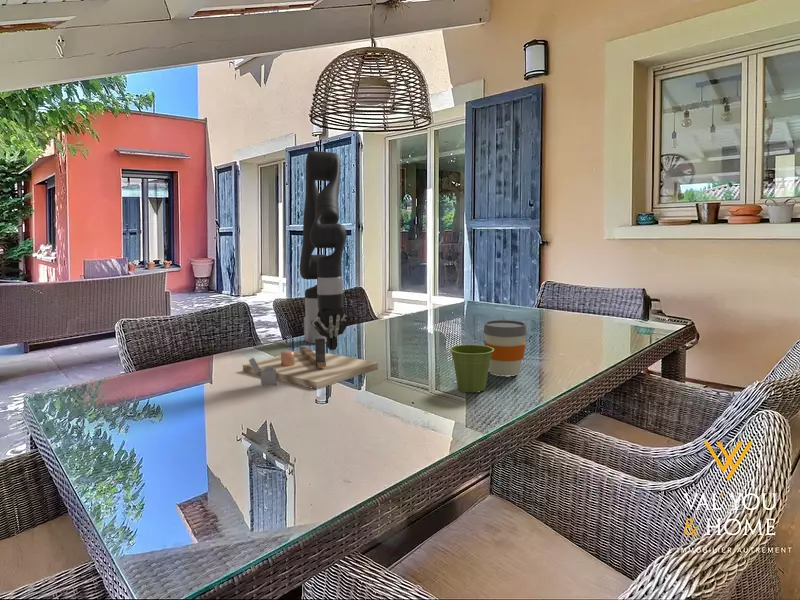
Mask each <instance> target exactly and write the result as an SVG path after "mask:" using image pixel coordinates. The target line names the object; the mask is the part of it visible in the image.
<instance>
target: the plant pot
mask: <svg viewBox="0 0 800 600" xmlns="http://www.w3.org/2000/svg"><path fill="white" fill-rule="evenodd" d="M449 351H450V352H451V356H452V360H453V365H454V373H455V379H456V384H457V385H456V386H457V389H459V390H458V391H460V392H462V391H463V393H465V392H468V393H473V392H478V391H482V390H484V389H485V390H486V386H487V380H488V374H489V364H490V360H491V356H492V352H494V348H492V347H489V346H485V345H482V344H457V345H453V346H450V347H449ZM485 390H484V391H485Z"/></svg>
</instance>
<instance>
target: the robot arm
mask: <svg viewBox="0 0 800 600" xmlns="http://www.w3.org/2000/svg"><path fill="white" fill-rule="evenodd" d="M341 169H342V168H341V159H340V156H339V154H337V153H335V152H329V151H318V150H311V151H308V152H307V155H306V159H305V198H304V209H303V223H302V245H301V252H300V253H301V254H300V263H299V274H300V277H301V278H302V279H303V280H317V283H316V285H314V286H311V287H309V288H307V289H305V291H304V308H305V309H304V310H305V311H304V314H305V316H304V317H303V335H304V337H303V338H304V342H306V343H307V342H308V344H314V345H315V339H325V344H326V348H328V350H329V351H335V350H337V348H338V345H339V344H338V338H339V337H338V336H340V335H343V334H344V332H345V330H346V329H347V327H348V326H349V324H350V321H351V320H352V318H351V316H347V315H346V314H345V310H344V286H343V284H344V283H343V274H342V260H343V253H344V248H345V245H346V241H347V233H348V232H347V229H346V228H345V226H344V225H343V224H342V223H338V222H339V220H340V212H339V193H340V183H341ZM316 181H318V182H319V181H321V182H328V183H327V185H326V186H324V187H323V189H322V190H321V191H320V192H319V189H318V187H317V183H316ZM315 249H334V250H333V252H332V253H331V254H329V255H326V254H313V253H314V250H315ZM326 342H327V343H326Z"/></svg>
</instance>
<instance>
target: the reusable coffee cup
mask: <svg viewBox="0 0 800 600" xmlns="http://www.w3.org/2000/svg"><path fill="white" fill-rule="evenodd" d="M527 330H528V328H527V324H526V322H523V321H520V320H507V319H506V320H505V319H498V320H488V321H485V322H484V327H483V333H484V337H485V340H484V346H489V347H492V348H494V352H492V356H491V360H490V364H489V369H488V373H489V372H490V373H492V374H497V375H515V374H518V373H520V374H521V367H522V361H523V359H524V357H525V352H526V351H525V350H526V345H527V342H525V341H526V335H528V332H527ZM490 373H489V374H490Z"/></svg>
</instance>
